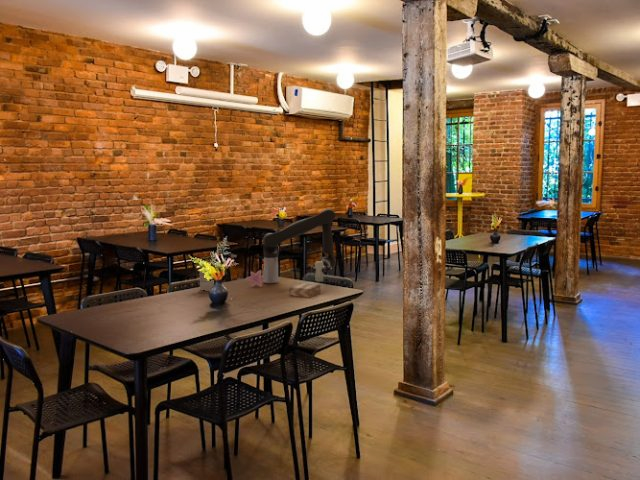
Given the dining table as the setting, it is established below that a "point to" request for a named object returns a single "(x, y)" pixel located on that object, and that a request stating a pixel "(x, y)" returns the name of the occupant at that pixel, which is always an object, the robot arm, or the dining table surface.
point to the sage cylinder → (318, 271)
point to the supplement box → (205, 283)
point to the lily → (255, 278)
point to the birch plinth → (304, 290)
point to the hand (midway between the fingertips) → (318, 270)
